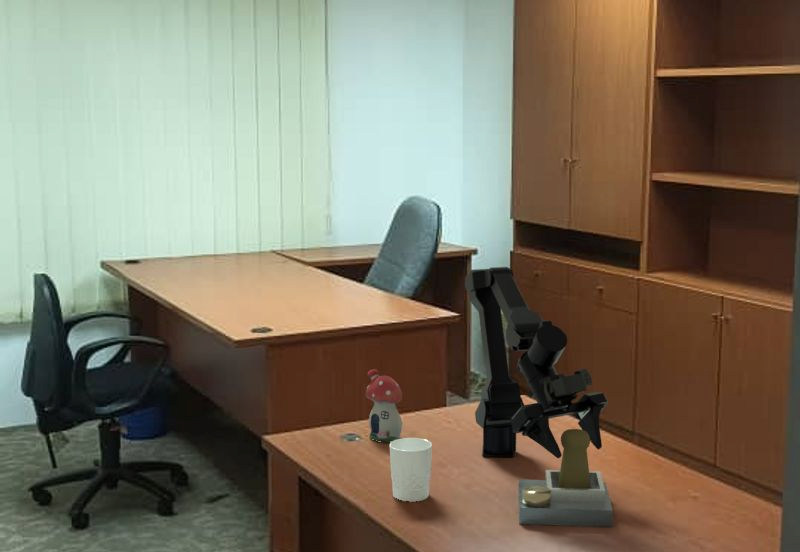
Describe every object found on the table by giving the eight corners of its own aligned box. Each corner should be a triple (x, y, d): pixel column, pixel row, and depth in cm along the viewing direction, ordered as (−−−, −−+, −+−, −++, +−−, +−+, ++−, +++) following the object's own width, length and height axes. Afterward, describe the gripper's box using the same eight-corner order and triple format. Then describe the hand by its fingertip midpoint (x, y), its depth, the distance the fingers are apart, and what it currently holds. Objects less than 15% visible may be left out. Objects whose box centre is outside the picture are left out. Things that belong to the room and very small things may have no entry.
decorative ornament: (361, 434, 235) (360, 368, 232) (386, 429, 238) (385, 364, 236) (382, 445, 227) (382, 378, 224) (408, 440, 230) (408, 373, 228)
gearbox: (519, 524, 184) (519, 496, 183) (518, 494, 198) (518, 469, 197) (612, 527, 183) (613, 499, 182) (605, 497, 196) (605, 471, 196)
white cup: (437, 490, 200) (437, 440, 199) (424, 505, 193) (424, 453, 191) (398, 486, 203) (397, 436, 201) (384, 500, 196) (383, 448, 194)
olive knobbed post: (554, 483, 194) (555, 426, 193) (586, 482, 195) (587, 425, 193) (561, 495, 188) (562, 436, 187) (595, 494, 189) (596, 435, 187)
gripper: (521, 362, 186) (559, 439, 179) (602, 349, 196) (642, 421, 188) (494, 395, 194) (530, 470, 187) (574, 381, 204) (611, 452, 196)
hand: (580, 452), depth 189 cm, fingers open, 9 cm apart
